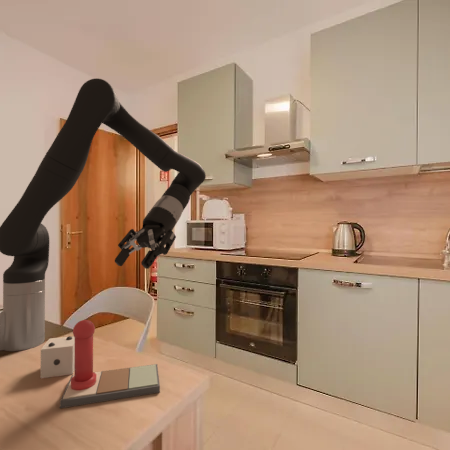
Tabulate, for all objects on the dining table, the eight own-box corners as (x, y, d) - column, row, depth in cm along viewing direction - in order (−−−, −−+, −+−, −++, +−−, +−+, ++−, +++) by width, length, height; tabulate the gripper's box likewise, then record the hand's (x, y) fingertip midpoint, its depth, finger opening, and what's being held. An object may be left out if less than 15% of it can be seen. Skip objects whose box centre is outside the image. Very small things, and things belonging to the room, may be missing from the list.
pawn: (68, 392, 52) (68, 325, 52) (73, 379, 56) (74, 317, 56) (94, 388, 53) (94, 322, 53) (97, 376, 57) (98, 315, 57)
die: (39, 379, 59) (39, 347, 59) (49, 364, 65) (49, 335, 65) (71, 375, 60) (71, 344, 60) (78, 361, 67) (78, 333, 67)
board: (59, 408, 50) (59, 400, 50) (71, 381, 58) (71, 374, 58) (159, 392, 54) (159, 384, 54) (157, 369, 63) (157, 363, 63)
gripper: (136, 206, 76) (99, 253, 66) (179, 204, 69) (145, 256, 59) (150, 226, 81) (118, 272, 71) (191, 226, 74) (162, 277, 64)
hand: (130, 265), depth 65 cm, fingers open, 8 cm apart
